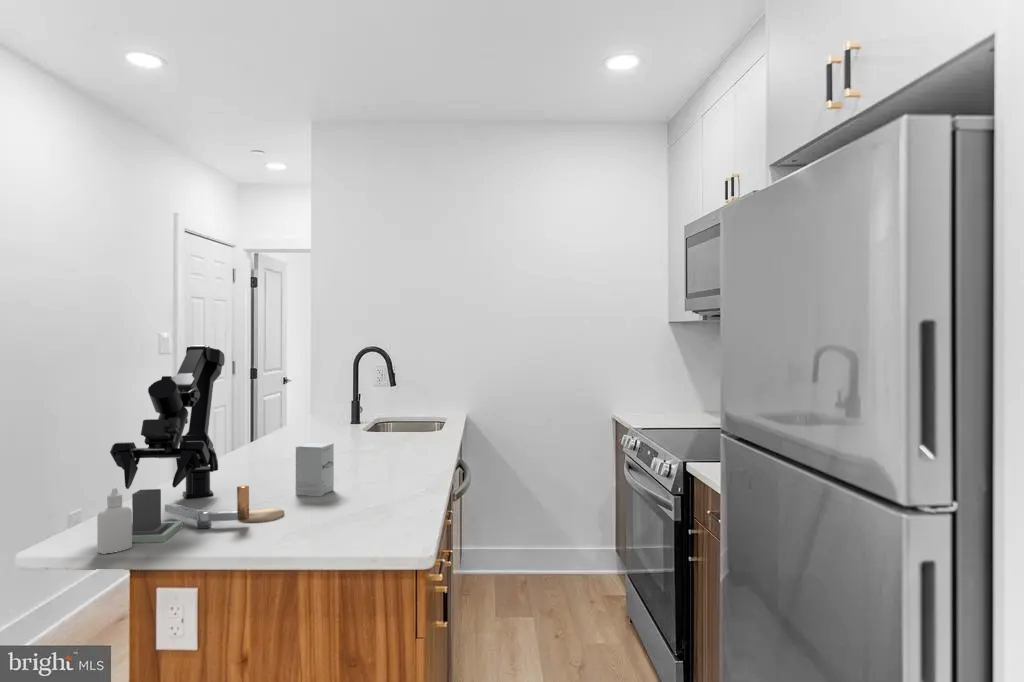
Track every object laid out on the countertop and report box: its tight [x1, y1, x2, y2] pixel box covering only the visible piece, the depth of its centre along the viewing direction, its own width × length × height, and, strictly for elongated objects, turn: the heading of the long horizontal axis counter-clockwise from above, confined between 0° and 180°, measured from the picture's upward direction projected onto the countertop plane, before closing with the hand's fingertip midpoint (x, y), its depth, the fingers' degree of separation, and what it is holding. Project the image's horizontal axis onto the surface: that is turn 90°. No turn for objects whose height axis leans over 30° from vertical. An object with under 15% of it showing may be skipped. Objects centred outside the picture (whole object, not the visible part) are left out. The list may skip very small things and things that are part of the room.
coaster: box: [243, 507, 285, 523], centre depth 153 cm, size 10×10×1 cm
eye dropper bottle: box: [96, 487, 133, 555], centre depth 129 cm, size 4×6×12 cm
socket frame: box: [132, 520, 184, 544], centre depth 139 cm, size 10×10×1 cm
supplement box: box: [295, 442, 335, 497], centre depth 175 cm, size 7×7×13 cm
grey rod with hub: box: [164, 485, 250, 529], centre depth 148 cm, size 21×8×8 cm, turn 56°
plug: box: [131, 488, 168, 535], centre depth 139 cm, size 6×6×9 cm
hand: (150, 487), depth 140 cm, fingers open, 9 cm apart
